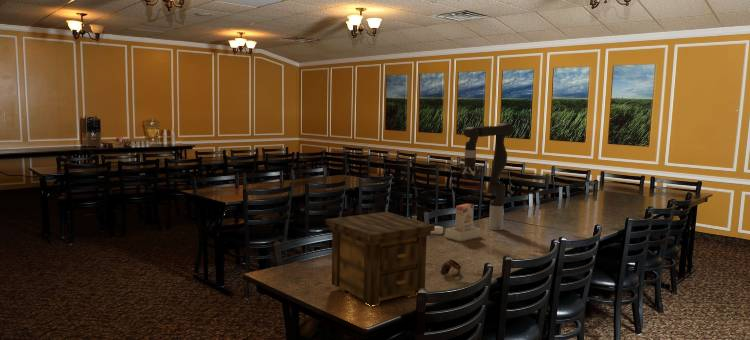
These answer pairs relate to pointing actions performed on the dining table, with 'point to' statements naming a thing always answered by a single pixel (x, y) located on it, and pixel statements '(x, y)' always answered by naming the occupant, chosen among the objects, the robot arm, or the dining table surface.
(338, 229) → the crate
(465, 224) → the cracker box
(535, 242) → the dining table surface
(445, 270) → the brown curved band
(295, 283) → the dining table surface
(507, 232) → the dining table surface
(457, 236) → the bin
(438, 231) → the tan small block
